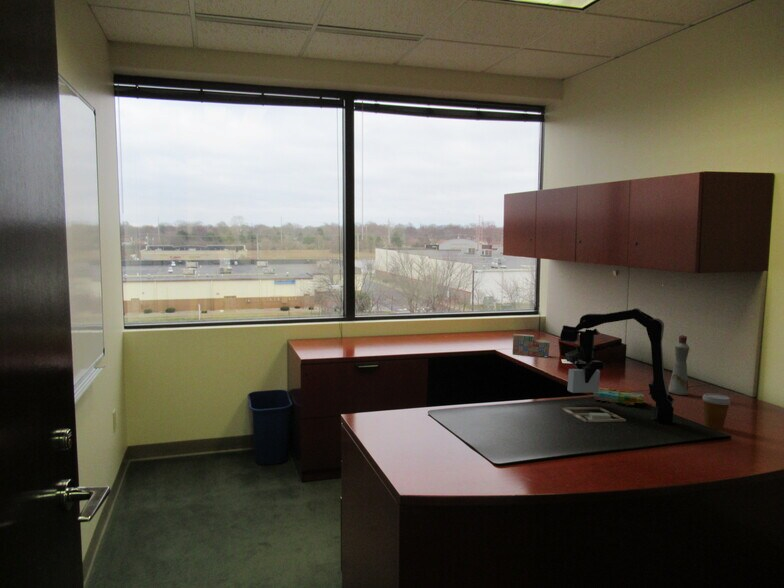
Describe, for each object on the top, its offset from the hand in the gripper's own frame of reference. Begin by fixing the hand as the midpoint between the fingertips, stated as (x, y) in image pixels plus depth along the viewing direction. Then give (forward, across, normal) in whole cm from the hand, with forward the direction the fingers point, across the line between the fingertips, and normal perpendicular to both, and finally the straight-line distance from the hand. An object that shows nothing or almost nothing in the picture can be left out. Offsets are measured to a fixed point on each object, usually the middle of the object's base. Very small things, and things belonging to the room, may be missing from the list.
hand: (583, 381), depth 241 cm
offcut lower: (+11, +20, -5) cm, 23 cm away
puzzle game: (+11, -7, +22) cm, 26 cm away
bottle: (+11, -18, +62) cm, 65 cm away
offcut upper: (+9, +20, -5) cm, 23 cm away
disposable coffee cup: (+11, +30, +38) cm, 50 cm away
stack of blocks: (+11, -110, +33) cm, 115 cm away
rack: (+11, +16, -5) cm, 20 cm away
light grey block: (+4, 0, 0) cm, 4 cm away
